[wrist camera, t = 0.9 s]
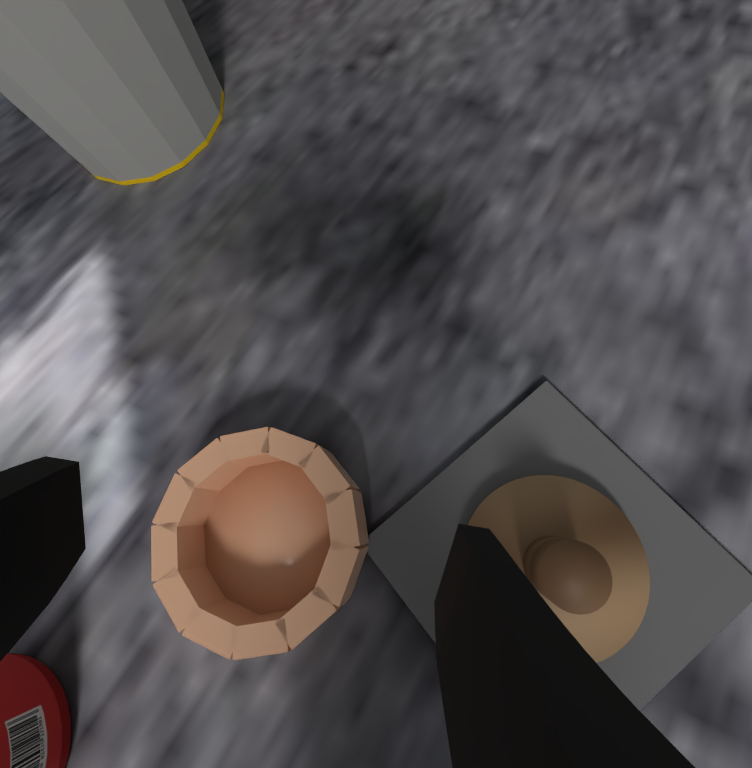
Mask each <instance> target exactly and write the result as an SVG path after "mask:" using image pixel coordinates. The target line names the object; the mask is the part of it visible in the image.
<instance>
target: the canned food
mask: <svg viewBox="0 0 752 768" xmlns="http://www.w3.org/2000/svg"><path fill="white" fill-rule="evenodd" d="M70 742H71V717H70V712H69V706H68V701H67V699H66V696H65V693H64V690H63V688H62V686H61V684H60V683H59V681H58V679H57V678H56V676H55V675H54V673H53V672H52V671H51V670H50V669H49V668H48V667H47V666H46V665H45V664H43V663H42V662H40V661H38V660H37V659H35V658H33V657H30V656H27V655H24V654H10V653H7V655H6V656H5V657H4V658H3V659H2V660H1V662H0V768H65V767H66V764H67V760H68V757H69V750H70Z"/></svg>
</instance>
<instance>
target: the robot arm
mask: <svg viewBox="0 0 752 768" xmlns="http://www.w3.org/2000/svg"><path fill="white" fill-rule="evenodd" d="M84 550H85V535H84V522H83V509H82V496H81V483H80V470H79V462H76V461H70V460H64V459H58V458H52V457H46V456H45V457H42V458H39V459H36V460H33V461H29V462H26V463H23V464H21V465H18V466H15V467H12V468H9V469H7V470H4V471H1V472H0V662H1V660H2V659H3V658H4V657H5V656H6V655H7V653H8V652H9V651H10V650H11V649H12V647H13V646H14V645H15V644H16V643H17V641H18V640H19V639H20V638H21V637H22V635H23V634H24V633H25V632H26V631H27V629H28V628H29V627H30V626H31V625H32V623H33V622H34V621H35V620H36V619H37V617H38V616H39V615H40V614H41V613H42V611H43V610H44V609H45V608H46V606H47V605H48V604H49V603H50V601H51V600H52V599H53V597H54V596H55V594H56V593H57V591H58V590H59V588H60V587H61V586H62V584H63V583H64V581H65V580H66V578H67V577H68V575H69V574H70V572H71V570H72V569H73V567H74V566H75V564H76V563H77V561H78V559H79V558H80V556H81V555H82V553H83V552H84ZM434 609H435V639H436V658H437V665H438V673H439V679H440V686H441V693H442V700H443V707H444V713H445V720H446V727H447V733H448V740H449V747H450V753H451V760H452V766H453V768H695V767H694V766H693V765H692V764H691V763H690V762H689V761H688V760H687V759H686V758H685V757H684V756H683V755H682V754H681V753H680V752H679V751H678V750H677V749H676V748H675V747H674V746H673V745H672V744H671V743H670V742H669V741H668V740H667V739H666V738H665V737H664V735H663V734H662V733H661V732H660V731H659V730H658V729H657V728H656V727H655V726H654V725H653V724H652V723H651V722H650V721H649V720H648V719H647V718H646V717H645V716H644V715H643V714H642V713H641V712H640V711H639V710H638V709H637V708H636V706H635V705H634V704H633V703H632V702H631V701H630V700H629V699H628V698H627V697H626V696H625V695H624V694H623V692H622V691H621V690H620V689H619V688H618V687H617V686H616V685H615V684H614V682H613V681H612V680H611V679H610V678H609V677H608V676H607V674H606V673H605V672H604V671H603V670H602V669H601V668H600V666H599V665H598V664H597V663H596V662H595V661H594V660H593V658H592V657H591V656H590V655H589V654H588V653H587V652H586V651H585V649H584V648H583V647H582V646H581V645H580V643H579V642H578V641H577V640H576V639H575V637H574V636H573V635H572V634H571V633H570V631H569V630H568V629H567V628H566V627H565V625H564V624H563V623H562V622H561V620H560V619H559V618H558V617H557V615H556V614H555V613H554V612H553V610H552V609H551V608H550V607H549V605H548V604H547V603H546V602H545V600H544V599H543V598H542V597H541V595H540V594H539V593H538V591H537V590H536V589H535V588H534V586H533V585H532V584H531V582H530V581H529V580H528V578H527V577H526V576H525V574H524V573H523V572H522V571H521V569H520V568H519V567H518V565H517V564H516V563H515V561H514V560H513V559H512V557H511V556H510V555H509V553H508V552H507V551H506V549H505V548H504V547H503V545H502V544H501V543H500V542H499V540H498V539H497V538H496V536H495V535H494V534H493V533H492V531H491V530H490V529H489V528H482V527H476V526H470V525H464V524H458V527H457V530H456V533H455V536H454V540H453V543H452V546H451V549H450V553H449V556H448V559H447V562H446V566H445V569H444V572H443V575H442V579H441V582H440V585H439V588H438V592H437V595H436V598H435V601H434Z"/></svg>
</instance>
